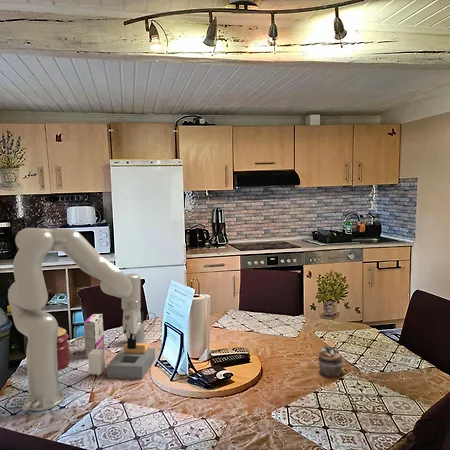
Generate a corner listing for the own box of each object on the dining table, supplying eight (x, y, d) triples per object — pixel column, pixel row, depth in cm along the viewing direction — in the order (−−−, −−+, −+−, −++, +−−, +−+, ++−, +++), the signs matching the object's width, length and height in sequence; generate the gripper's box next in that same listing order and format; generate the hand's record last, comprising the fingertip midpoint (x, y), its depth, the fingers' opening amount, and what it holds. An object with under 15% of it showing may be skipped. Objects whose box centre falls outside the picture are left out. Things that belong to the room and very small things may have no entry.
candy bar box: (93, 348, 186) (92, 313, 185) (104, 348, 186) (103, 313, 185) (84, 358, 175) (83, 321, 173) (96, 358, 175) (94, 321, 173)
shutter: (144, 353, 167) (144, 345, 166) (124, 352, 168) (124, 344, 167) (150, 345, 175) (150, 338, 175) (130, 344, 176) (130, 337, 176)
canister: (57, 374, 160) (55, 331, 159) (29, 371, 163) (26, 329, 161) (76, 360, 173) (74, 320, 171) (49, 358, 175) (47, 319, 174)
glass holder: (125, 340, 195) (124, 310, 193) (153, 336, 201) (153, 306, 199) (128, 347, 187) (127, 315, 185) (158, 342, 193) (157, 311, 191)
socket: (142, 378, 155) (142, 366, 154) (107, 377, 156) (107, 365, 156) (155, 359, 173) (154, 348, 172) (123, 358, 174) (123, 347, 174)
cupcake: (315, 374, 157) (315, 349, 156) (321, 364, 165) (321, 341, 164) (340, 379, 152) (340, 354, 151) (345, 369, 161) (345, 345, 160)
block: (100, 377, 156) (99, 354, 155) (89, 377, 157) (88, 354, 156) (105, 372, 161) (104, 349, 160) (94, 372, 161) (93, 349, 160)
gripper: (134, 309, 156) (134, 355, 157) (145, 299, 171) (146, 342, 172) (115, 309, 156) (116, 354, 158) (128, 299, 171) (129, 341, 173)
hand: (131, 348), depth 165 cm, fingers closed
